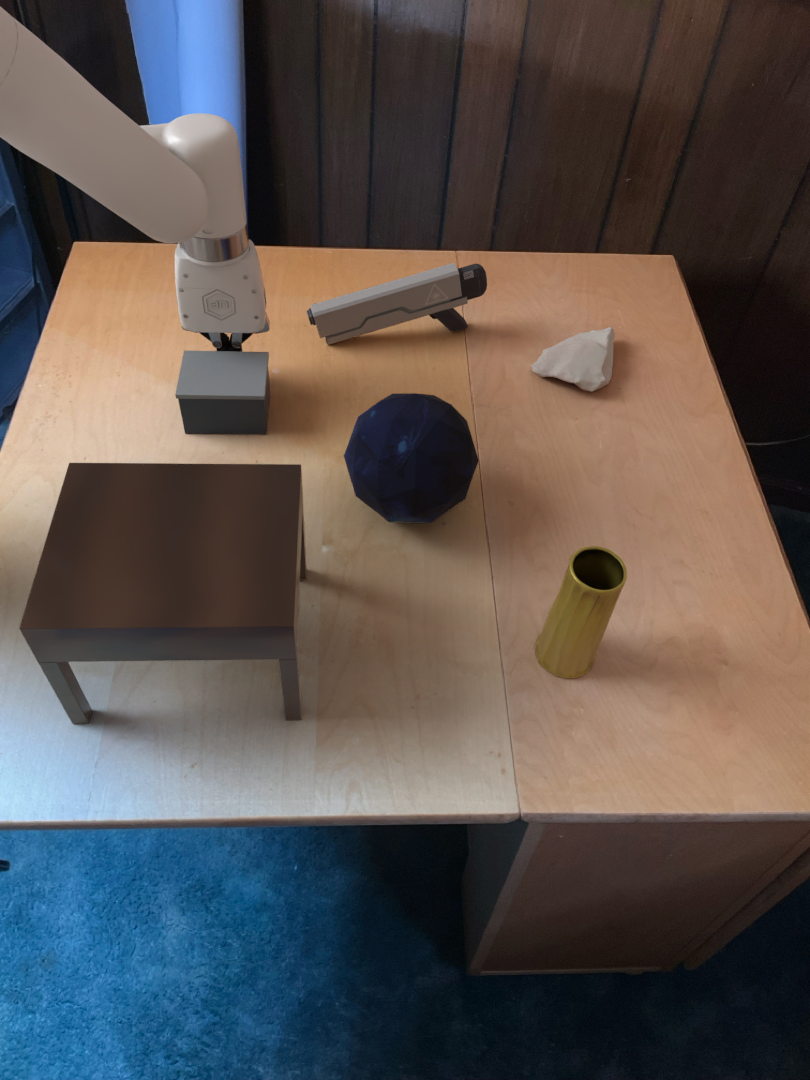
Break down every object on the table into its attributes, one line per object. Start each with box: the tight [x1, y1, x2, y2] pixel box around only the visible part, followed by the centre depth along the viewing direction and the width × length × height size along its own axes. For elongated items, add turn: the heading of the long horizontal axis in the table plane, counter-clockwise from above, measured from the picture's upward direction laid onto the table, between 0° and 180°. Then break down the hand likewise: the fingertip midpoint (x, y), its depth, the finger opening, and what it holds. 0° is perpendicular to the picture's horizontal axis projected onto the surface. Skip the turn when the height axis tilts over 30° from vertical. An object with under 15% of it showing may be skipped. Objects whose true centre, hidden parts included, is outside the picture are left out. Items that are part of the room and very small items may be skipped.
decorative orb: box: [343, 392, 480, 524], centre depth 89 cm, size 14×15×15 cm
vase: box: [534, 545, 628, 679], centre depth 77 cm, size 6×6×14 cm
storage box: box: [174, 349, 271, 436], centre depth 100 cm, size 10×8×6 cm
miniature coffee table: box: [18, 462, 308, 725], centre depth 75 cm, size 21×20×16 cm
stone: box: [530, 326, 616, 392], centre depth 112 cm, size 11×4×15 cm
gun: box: [306, 262, 488, 345], centre depth 112 cm, size 2×25×10 cm, turn 104°
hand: (231, 366), depth 105 cm, fingers closed
